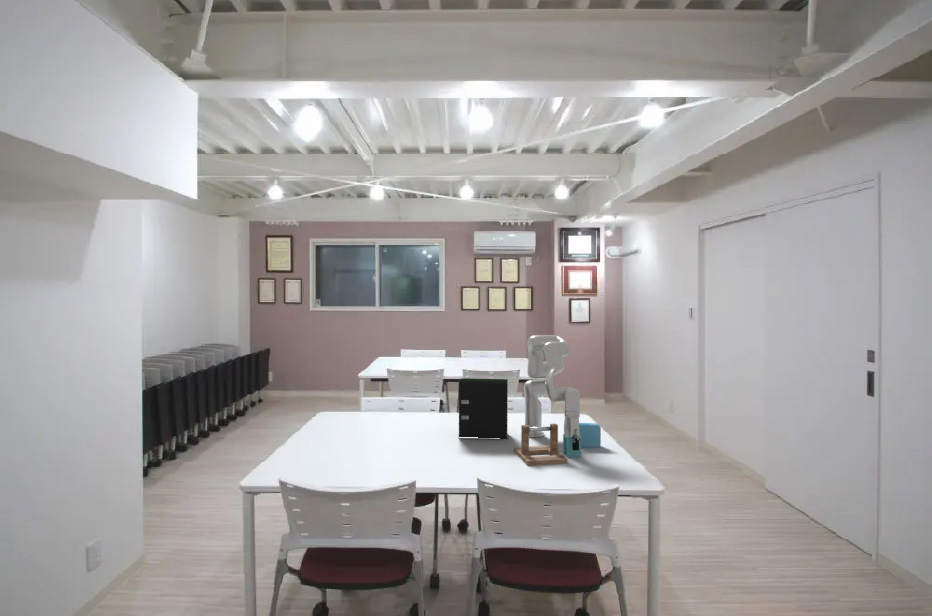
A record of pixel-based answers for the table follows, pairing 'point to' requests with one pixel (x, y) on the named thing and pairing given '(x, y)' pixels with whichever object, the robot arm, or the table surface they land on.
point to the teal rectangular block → (570, 447)
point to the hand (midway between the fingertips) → (572, 447)
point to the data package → (590, 434)
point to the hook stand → (540, 447)
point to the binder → (483, 408)
